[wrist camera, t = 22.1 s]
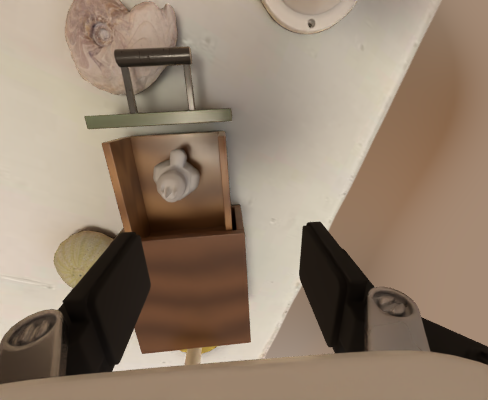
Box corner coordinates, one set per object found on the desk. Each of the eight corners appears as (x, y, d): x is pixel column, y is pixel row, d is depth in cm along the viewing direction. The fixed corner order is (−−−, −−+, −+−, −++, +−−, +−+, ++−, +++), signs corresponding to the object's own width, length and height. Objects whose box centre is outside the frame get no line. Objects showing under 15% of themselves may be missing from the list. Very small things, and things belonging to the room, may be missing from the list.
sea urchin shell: (136, 246, 34) (102, 302, 31) (133, 253, 41) (105, 299, 37) (72, 217, 32) (27, 273, 28) (80, 228, 39) (44, 275, 35)
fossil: (68, 95, 25) (36, -21, 22) (92, 99, 29) (68, 1, 26) (180, 87, 25) (164, -31, 22) (189, 92, 29) (176, -7, 26)
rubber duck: (157, 190, 32) (136, 215, 24) (161, 141, 29) (139, 151, 22) (197, 197, 32) (189, 223, 25) (204, 149, 30) (197, 162, 23)
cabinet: (136, 212, 35) (109, 244, 26) (240, 204, 35) (244, 232, 27) (158, 305, 41) (141, 354, 33) (245, 297, 42) (250, 342, 34)
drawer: (102, 61, 27) (64, 46, 20) (226, 56, 28) (226, 39, 21) (142, 233, 35) (124, 261, 28) (237, 226, 36) (240, 251, 29)
